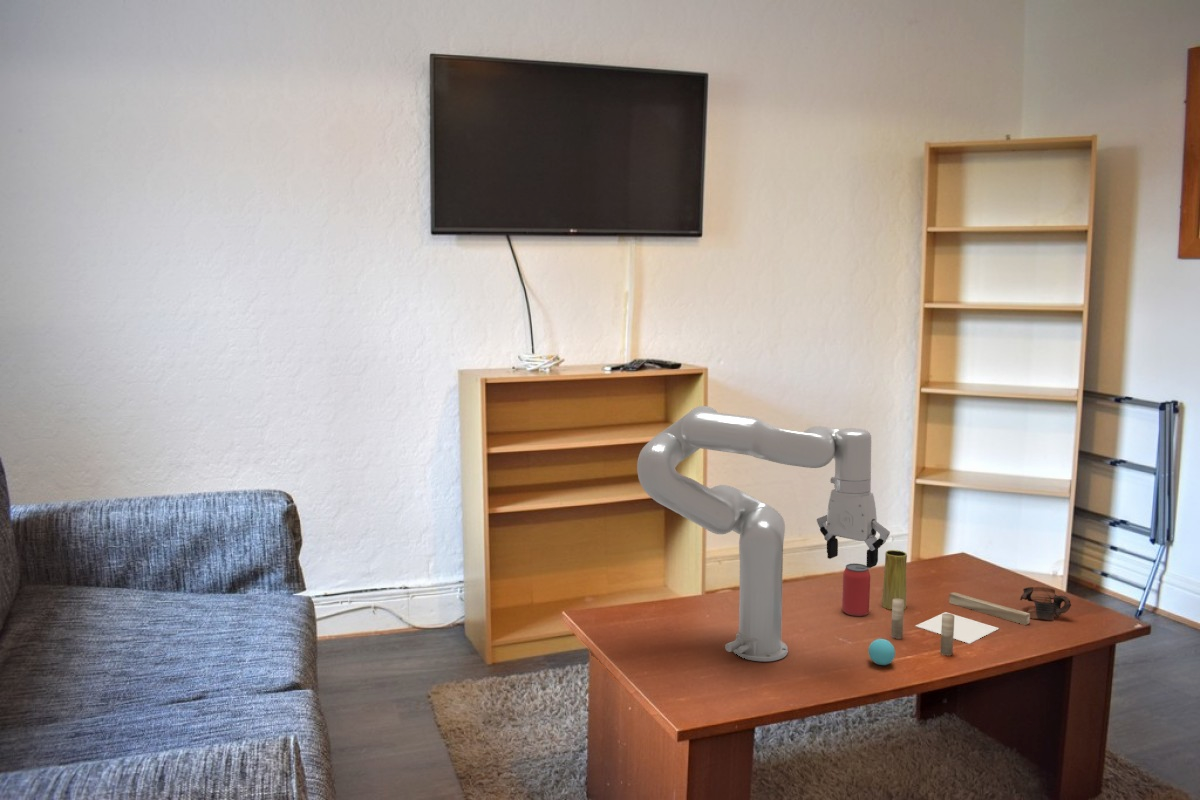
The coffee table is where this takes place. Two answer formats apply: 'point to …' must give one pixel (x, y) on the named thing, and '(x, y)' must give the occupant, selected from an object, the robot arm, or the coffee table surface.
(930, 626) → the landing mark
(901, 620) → the post left
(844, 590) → the beer can
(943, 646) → the post right
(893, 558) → the vase
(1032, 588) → the pottery mug
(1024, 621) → the rail
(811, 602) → the coffee table surface
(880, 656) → the ball
